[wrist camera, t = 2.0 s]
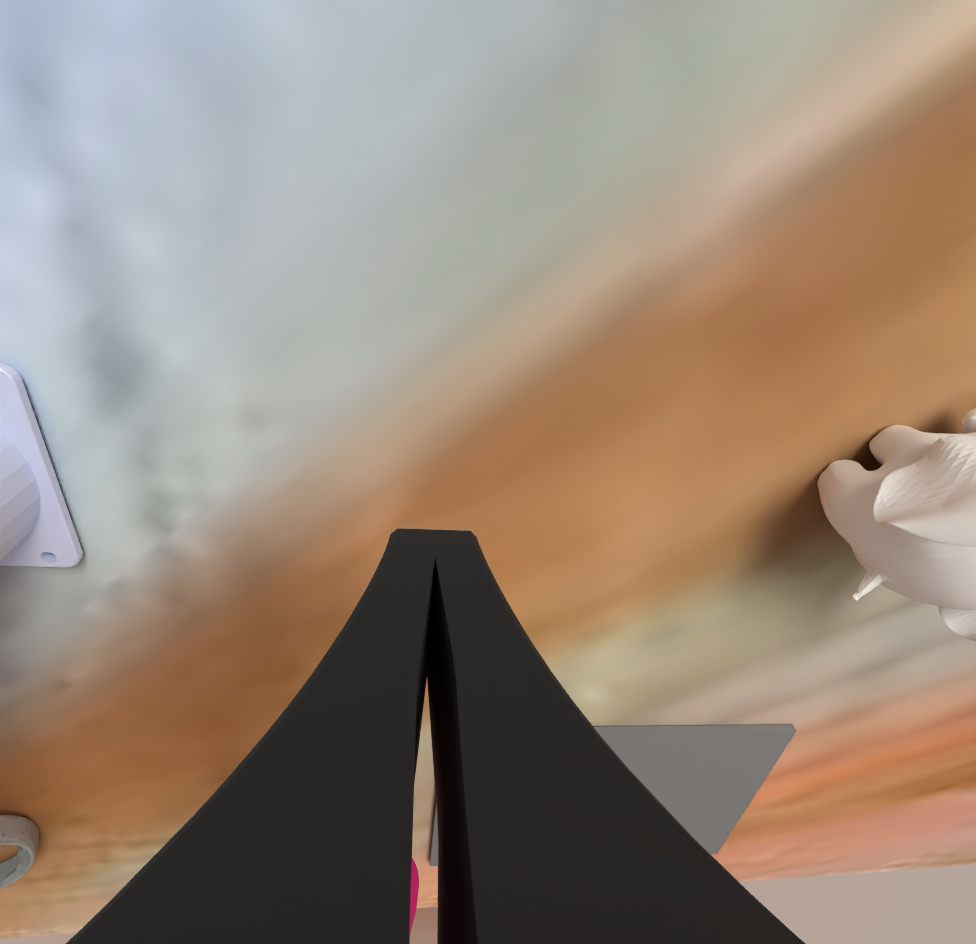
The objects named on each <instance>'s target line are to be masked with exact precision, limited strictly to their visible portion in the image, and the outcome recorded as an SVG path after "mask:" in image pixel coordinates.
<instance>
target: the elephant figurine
mask: <svg viewBox="0 0 976 944" xmlns="http://www.w3.org/2000/svg"><path fill="white" fill-rule="evenodd" d="M961 424H962V427H963V429H964V432H965V434H945V433H927V432H921V431H918V430H915V429H913V428H911V427H908V426H904V425H893V426H890V427H887V428H885V429H884V430H882V431H881V432H880V433H878V434H877V435H876V436H875V437H874V438H873V439H872V440H871V441H870V444H869V448H870V450H871V452H872V454H873V455H874V457H875V459H876V460H877V461H878V462H879V463H881V464H882V466H881V467H880V468H879V469H877V470H874V471H867V470H865V469H864V468H863V467H862V466H861V465H860V464H859V463H857V462H855V461H852V460H838V461H834V462H832V463H830V464H829V466H828V467H827V468H826V469H825V471H824V472H822V473H821V475H820V477H819V479H818V482H817V484H818V489H819V494H820V500H821V503H822V506H823V509H824V512H825V514H826V517H827V519H828V520H829V522H830V523H831V525H832V526H833V527H834V529H835V530H836V531H837V532H838V533H839V534H840V535H841V536H842V537H843V538H844V539H845V540H846V541H847V542H848V543H849V544H850V545H851V547H852V550H853V553H854V555H855V557H856V558H857V560H858V561H859V563H860V564H861V565H862V566H863V568H864V569H865V570H866V571H867V573H866V575H865V576H864V578H863V580H862V581H861V583H860V585H859V587H858V589H857V590H856V592H855V594H854V595H852V596H851V598H852V599H853V600H854V601H858V599H859V598H860V597H861V596H863V595H865V594H867V593H868V592H870V591H871V590H872V589H874V588H875V587H876V586H878V585H879V584H880V583H881V584H882V585H883V586H885V587H886V588H888V589H890V590H892V591H894V592H896V593H898V594H901V595H903V596H905V597H908V598H910V599H913V600H916V601H920V602H924V603H928V604H932V605H936V606H939V612H940V615H941V617H942V619H943V621H944V622H945V623H946V625H947V626H948V627H949V628H950V629H951V630H953V631H954V632H956V633H957V634H959V635H961V636H963V637H965V638H967V639H971V640H974V641H976V408H974V409H972V410H970V411H969V412H968V413H967V414H965V416H964V417H963V418H962V420H961Z"/></svg>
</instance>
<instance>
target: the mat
mask: <svg viewBox="0 0 976 944" xmlns="http://www.w3.org/2000/svg"><path fill="white" fill-rule="evenodd" d="M594 728H595V730H596V731H597V732H598V733H599V734H600V736H601V737H602V738H603V739H604V740H605V742H606V743H607V744H608V745H609V746H610V747H611V749H612V750H613V751H614V752H615V753H616V755H617V756H618V757H619V758H620V759H621V760H622V762H623V763H624V764H625V765H626V766H627V767H628V769H629V770H630V771H631V772H632V773H633V774H634V775H635V776H636V777H637V778H638V779H639V780H640V781H641V783H642V784H643V785H644V786H645V787H646V788H647V789H648V790H649V791H650V792H651V793H652V794H653V795H654V796H655V797H656V798H657V800H658V801H659V802H660V803H661V804H662V805H663V806H664V807H665V808H666V809H667V810H668V811H669V812H670V813H671V814H672V815H673V817H674V818H675V819H676V820H677V821H678V822H679V823H680V824H681V825H682V826H683V827H684V828H685V829H686V830H687V831H688V833H689V834H690V835H691V836H692V837H693V838H694V839H695V840H696V841H697V842H698V843H699V844H700V845H701V846H702V847H703V848H704V849H705V850H706V851H707V852H708V853H709V854H718V852H719V850H720V849H721V847H722V846H723V844H724V843H725V841H726V840H727V838H728V836H729V835H730V833H731V832H732V830H733V829H734V827H735V826H736V824H737V822H738V821H739V819H740V818H741V816H742V815H743V813H744V812H745V810H746V808H747V807H748V805H749V804H750V802H751V801H752V799H753V798H754V796H755V794H756V793H757V791H758V790H759V788H760V787H761V785H762V784H763V782H764V781H765V779H766V777H767V776H768V774H769V773H770V771H771V770H772V768H773V767H774V765H775V763H776V762H777V760H778V759H779V757H780V756H781V754H782V753H783V751H784V749H785V748H786V746H787V745H788V743H789V742H790V740H791V739H792V737H793V735H794V734H795V732H796V730H795V728H794V726H793V725H699V726H602V727H594ZM430 866H438V824H437V804H436V806H435V815H434V825H433V834H432V844H431V854H430Z"/></svg>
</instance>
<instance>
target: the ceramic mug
mask: <svg viewBox="0 0 976 944" xmlns="http://www.w3.org/2000/svg"><path fill="white" fill-rule="evenodd" d="M38 839H39V831H38V828H37V826H36V824H35V823H34V822H33V821H32V820H30V819H28V818H26V817H21V816H14V815H0V846H1V845H8V846H18V847H19V848H18V851H17V854H16V855H15V856H13V857H11V858H9V859H8V860H6V861H4V862H2V863H0V890H2V889H4V888H6V887H7V886H9V885H11V884H13V883H15V882H16V881H18V880H19V879H20V878H21V877H22V876H23V875H25V874H26V873H27V871H28V870H29V869H30V868H31V867H32V865H33V863H34V861H35V858H36V855H37V847H38Z"/></svg>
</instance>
